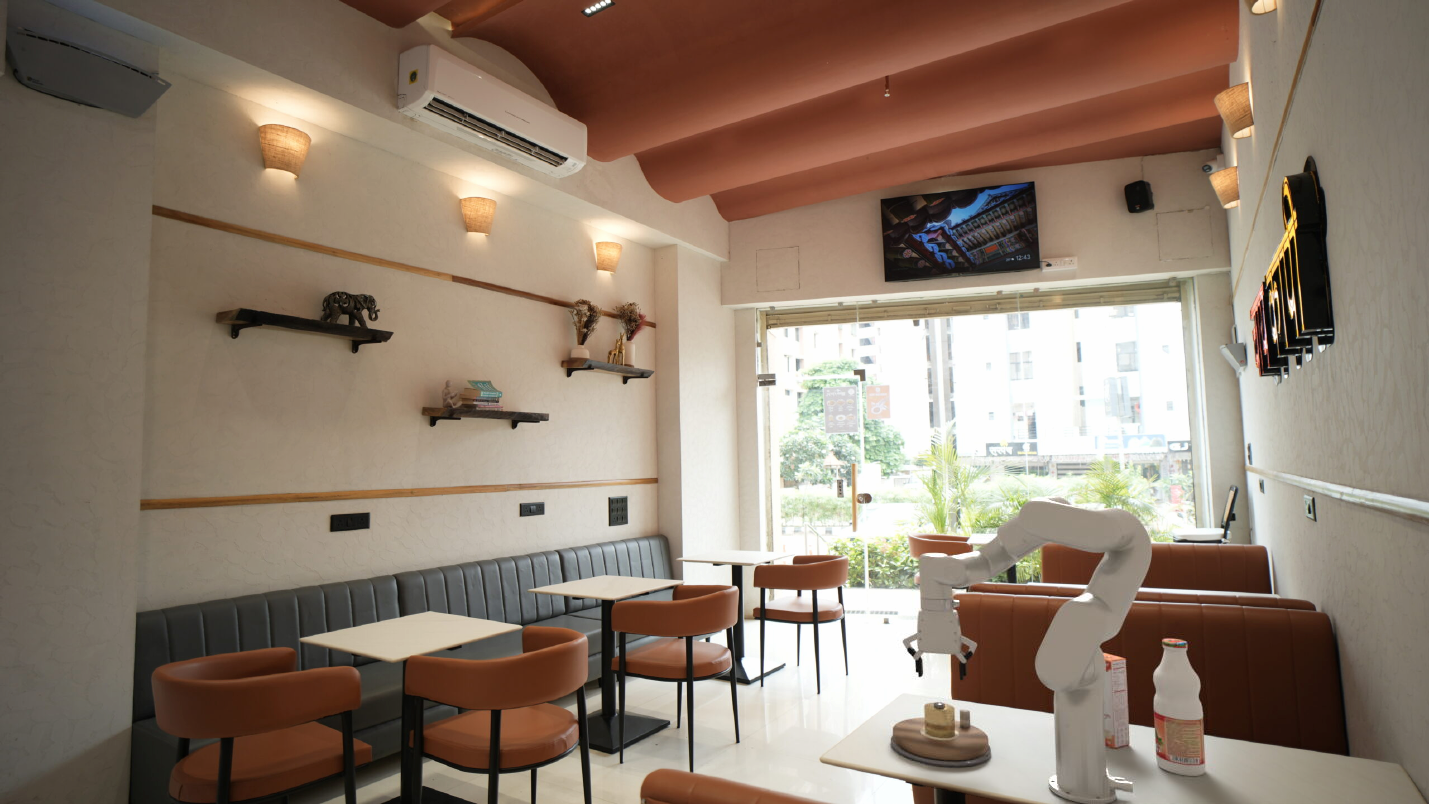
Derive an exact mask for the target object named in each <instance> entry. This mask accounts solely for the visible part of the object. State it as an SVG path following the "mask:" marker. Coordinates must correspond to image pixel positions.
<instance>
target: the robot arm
mask: <svg viewBox="0 0 1429 804" xmlns="http://www.w3.org/2000/svg"><path fill="white" fill-rule="evenodd" d="M1050 543H1051V544H1055V545H1059V546H1060V545H1061V546H1064V547H1068V548H1072V549H1076V550H1079V551H1084V552H1087V553H1088V552H1089V553H1096V554H1097V553H1101V554H1102V553H1104V555H1103V557H1102V558H1101V560H1100V561H1099V563H1098V565H1097V566H1096V568H1095V570H1094V571H1093V573H1092V576H1091V578H1090V580H1089V583H1088V584H1087V586H1086V588H1085V590H1084V591H1083V592H1082V594H1080V595H1078V596H1077V597H1073V598H1071V599H1069V600H1067V601H1066V602H1064V603H1063V604H1062V605H1061V606H1060V607H1059V609H1058V610H1057V612H1056V614H1055V615H1054V617H1053V619H1052V621H1051V623H1050V626H1049V627H1048V629H1047V631H1046V633H1045V635H1044V638H1043V639H1042V642H1041V643H1040V646H1039V647H1038V650H1037V654H1036V656H1035V660H1034V667H1035V671H1036V675H1037V677H1038V679H1039V681H1040V682H1041V683H1042V684H1043V685H1044V687H1047V688H1048V689H1050V690H1051V691H1054V692H1053V693H1054V694H1053V716H1054V718H1053V719H1054V720H1053V721H1054V745H1055V746H1054V747H1055V775H1052V776H1050V777H1049V778H1048V787H1049V789H1050V790H1051V792H1053V794H1055V795H1056V796H1059V797H1061V798H1063V799H1065V800H1068V801H1072V802H1075V803H1079V804H1110V803H1113V802H1114V801H1115V800H1116V799H1117V798H1116V797H1117V791H1122V792H1126V793H1132V794H1133V792H1134V788H1133V787H1134V785H1133V781H1126V780H1125V778H1124V777H1119V776H1112V774H1109V771H1108V770H1109V769H1108V768H1107V753H1106V752H1107V751H1106V747H1107V746H1106V745H1105V723H1104V687H1105V677H1106V662H1105V657H1104V654H1103V653H1104V652H1103V650H1102V648H1101V647H1100V646H1101V645H1102V643H1105V642H1106V641H1109V640H1110V639H1112V638H1114V637H1115V636H1116V635H1118V633H1119V632H1120V631H1121V628H1122V626H1123V624H1124V622H1125V619H1126V617H1127V615H1128V613H1129V611H1130V609H1131V608H1132V605H1133V603H1134V601H1135V599H1136V597H1137V594H1138V592H1139V590H1140V588H1141V586H1142V584H1143V583H1144V580H1145V578H1146V576H1147V573H1148V571H1149V568H1150V565H1151V561H1152V555H1153V553H1152V552H1153V551H1152V550H1153V547H1152V541H1151V538H1150V535H1149V532H1148V530H1147V529H1146V527H1145V526H1144V524H1143V523H1142V522H1141V521H1140V520H1139V518H1137V516H1135V515H1134V514H1132V512H1129V511H1128V510H1125V509H1122V508H1118V507H1106V508H1099V509H1091V508H1090V509H1089V508H1087V507H1086V508H1084V507H1080V506H1074V505H1072V503H1070V501H1068V500H1066V499H1065V498H1062V497H1061V496H1057V495H1056V496H1054V495H1053V496H1051V495H1050V496H1049V495H1048V496H1040V497H1034V498H1030V499H1029V500H1027V501H1026V502H1024V504H1023V505H1022V506H1021V507H1020V509H1019V511H1018V514H1016V515H1014V516H1013V517H1012V518H1010V519H1008V520H1007V521H1005V522H1003V523H1001V524H1000V525H999V526H998V528H997V529H996V536H995V537H994V538H993V539H991V540H990V541H989V542H987V543H986V544H984V545H982V546H981V547H979V548H977V549H975V550H973V551H971V552H964V553H960V554H955V555H954V554H953V555H948V554H946V553H943V552H941V553H940V552H926V553H922V554H921V555H920V556H919V558H918V570H919V571H918V572H919V590H920V591H919V592H920V608H919V610H918V615H917V622H916V623H917V625H916V628H917V629H916V633H913V634H912V635H909V636H908V637H906V638H904V639H903V640H902V644H903V646H904V648H905V649H906V651H907V652H908V654H909V655H910V656H911V657H912V658H913V660H914V663H915V673H918V674H917V676H918V678H921V677H923V675H924V665H923V664H924V663H923V658H922V655H923V654H924V653H925V654H939V655H954V656H955V657H957V659H958V660H959V663H958V665H959V666H958V669H959V680H960V681H964V680H965V677H967V674H968V670H967V662H968V661H969V660H970V659H971V657H973V655H974V654H975V651H976V649H977V646H978V644H977V642H975V641H973V640H971V639H969V638H968V637H965V636H964V635H962V631H961V624H960V623H961V622H960V618H959V613H958V611H957V610H956V609H954V608H957V607H960V600H957V599H955V598H954V595H953V588H959V589H960V588H961V589H962V588H966V587H970V586H974V585H979V584H983V583H985V582H988V581H990V580H991V579H993V578H995V577H997V576H998V575H1000V574H1001V573H1003V572H1005V571H1007V570H1009V569H1010V568H1011V567H1013V566H1014V565H1016V564H1017V563H1019V562H1021V561H1022V560H1023V559H1025V558H1026V557H1027V556H1029V555H1031V554H1033V553H1034V552H1036V551H1037V550H1039V549H1041V548H1043V547H1045V546H1046V545H1048V544H1050ZM915 641H916V643H917V649H918V650H915V648H913V646H912V644H911V643H912V642H915ZM963 644H964V645H966V646H968V647H969V649H968V651H967V652H966V653H964V652H963V651H962V647H963Z"/></svg>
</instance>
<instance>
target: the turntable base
mask: <svg viewBox="0 0 1429 804" xmlns="http://www.w3.org/2000/svg"><path fill="white" fill-rule="evenodd" d="M988 745H989V743H988ZM890 746H891V748H892V749H893V751H894V752H895V753H896V754H898V755H900V756H901V757H903V758H905V759H907V760H910V761H912V762H916V763H919V764H923V765H925V766H926V765H927V766H932V767H937V768H938V767H939V768H950V769H951V768H955V769H956V768H959V769H960V768H969V767H976V766H979V765H982V764H984V763H987V761H989V760H990V759H991V756H992V748H991V745H989V748H988V751H987V753H985V754H984V755H982V756H980V757H977V758H973V759H967V760H940V759H933V758H927V757H923V756H919V755H916V754H913V753H910V752H908V751H905V750H903V749H902V748H900V747H899V746H897V745H896V744H895V742H894V741H893V734H892V735H891V738H890Z"/></svg>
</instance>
